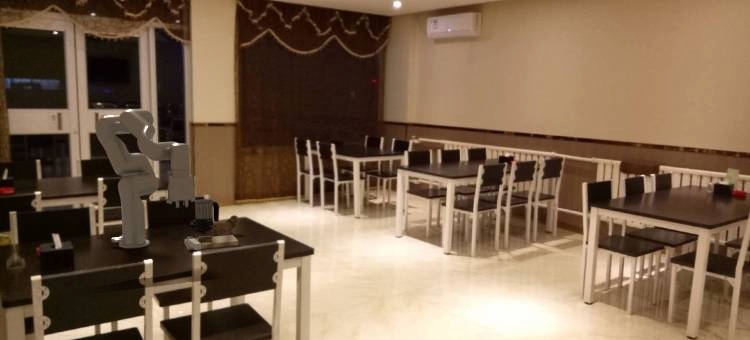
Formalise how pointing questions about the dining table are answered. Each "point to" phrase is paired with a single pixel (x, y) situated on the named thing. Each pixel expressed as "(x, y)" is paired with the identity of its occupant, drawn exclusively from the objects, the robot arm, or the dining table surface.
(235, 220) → the lion figurine
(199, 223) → the milk frother
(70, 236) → the dining table surface
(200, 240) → the grey tray
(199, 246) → the grey lumpy rod
